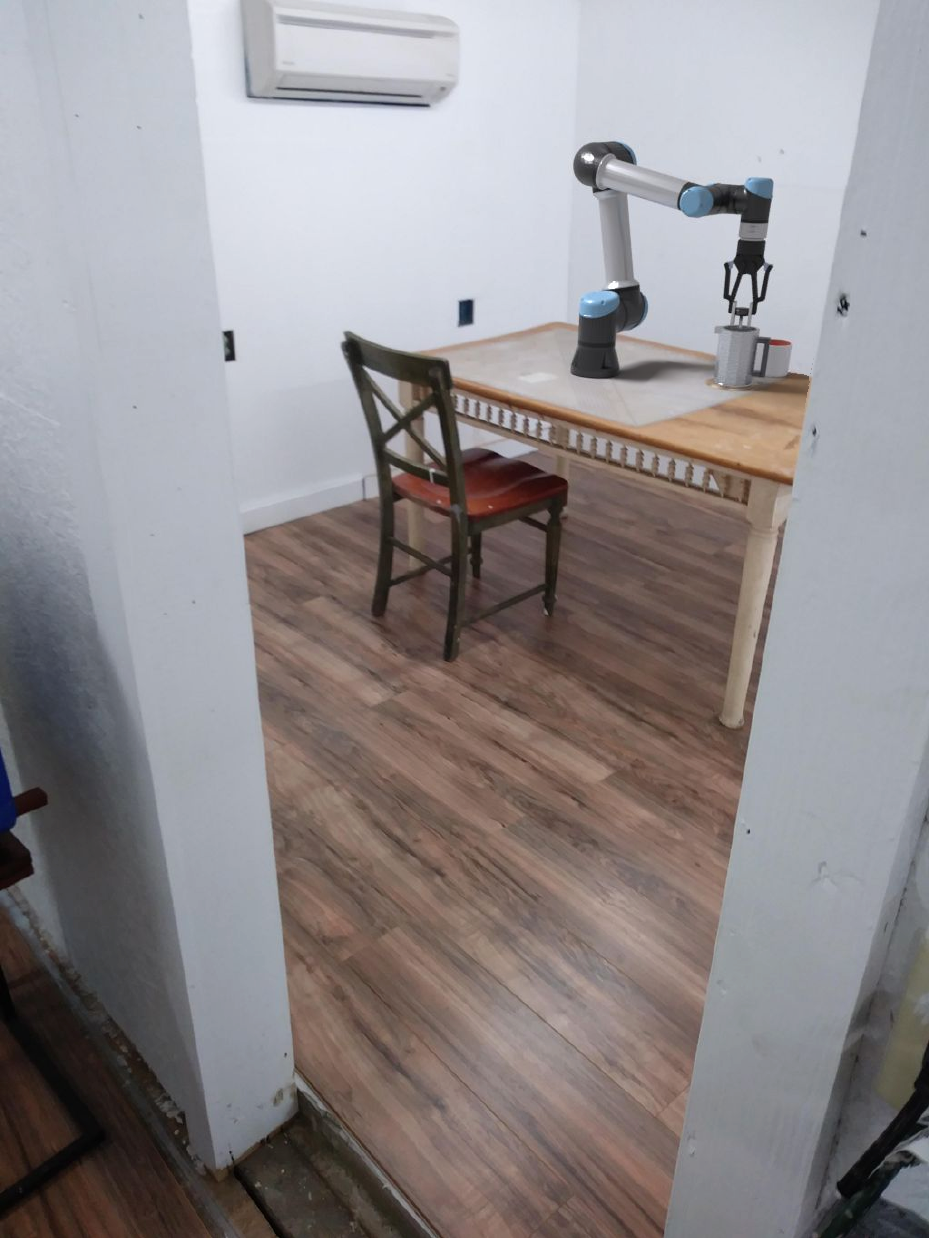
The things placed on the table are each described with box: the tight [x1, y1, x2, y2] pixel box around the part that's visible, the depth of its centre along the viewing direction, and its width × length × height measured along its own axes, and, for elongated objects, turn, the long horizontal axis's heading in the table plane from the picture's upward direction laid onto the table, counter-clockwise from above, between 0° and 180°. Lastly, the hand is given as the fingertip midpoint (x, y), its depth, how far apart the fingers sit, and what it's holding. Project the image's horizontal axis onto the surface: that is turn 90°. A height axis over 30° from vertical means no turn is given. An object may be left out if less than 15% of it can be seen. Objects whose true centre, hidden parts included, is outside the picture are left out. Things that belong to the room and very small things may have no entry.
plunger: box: [735, 306, 749, 332], centre depth 276 cm, size 8×8×11 cm
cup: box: [754, 338, 793, 378], centre depth 294 cm, size 10×10×10 cm
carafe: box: [712, 324, 772, 389], centre depth 280 cm, size 16×11×16 cm
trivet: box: [704, 377, 761, 392], centre depth 284 cm, size 16×16×1 cm
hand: (740, 325), depth 276 cm, fingers closed on plunger, 4 cm apart
